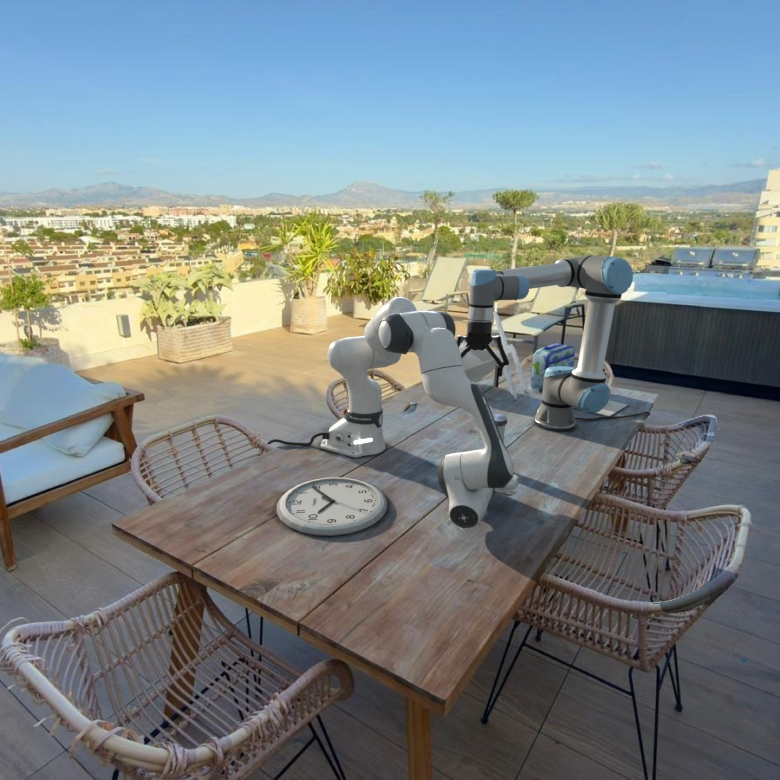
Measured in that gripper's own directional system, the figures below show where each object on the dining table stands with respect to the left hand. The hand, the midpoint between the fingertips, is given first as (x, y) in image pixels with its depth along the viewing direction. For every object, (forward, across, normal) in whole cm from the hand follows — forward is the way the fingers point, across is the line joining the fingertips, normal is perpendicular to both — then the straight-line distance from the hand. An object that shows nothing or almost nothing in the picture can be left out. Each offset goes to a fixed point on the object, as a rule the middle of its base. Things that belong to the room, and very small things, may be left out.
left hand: (485, 467), depth 153 cm
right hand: (+20, +8, -18) cm, 28 cm away
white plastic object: (+92, +19, +7) cm, 94 cm away
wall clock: (-26, +37, +6) cm, 46 cm away
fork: (+60, +43, +7) cm, 74 cm away
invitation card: (+92, -34, +6) cm, 98 cm away
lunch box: (+112, -12, +7) cm, 113 cm away
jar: (+13, 0, +6) cm, 15 cm away
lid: (+13, 0, -11) cm, 17 cm away
